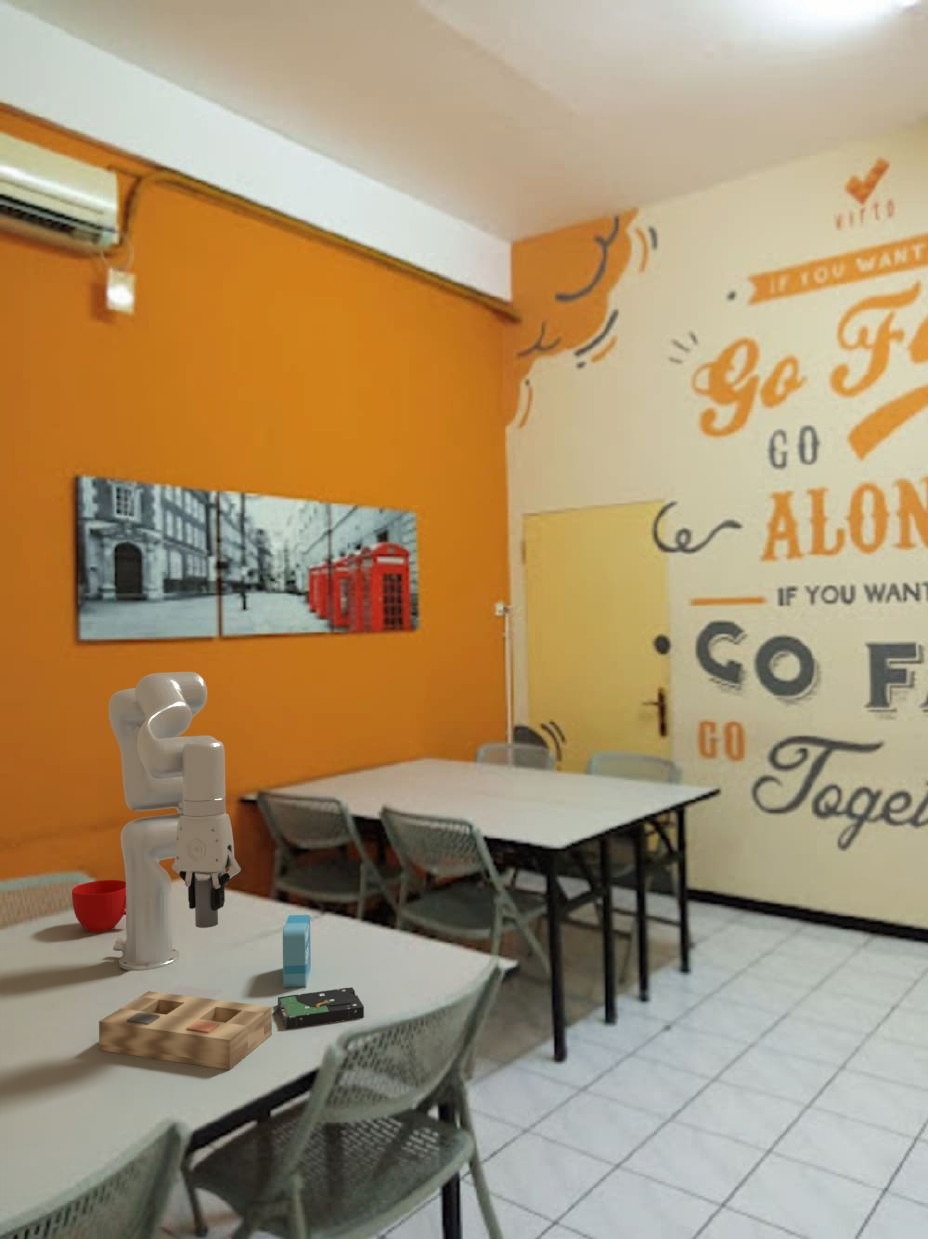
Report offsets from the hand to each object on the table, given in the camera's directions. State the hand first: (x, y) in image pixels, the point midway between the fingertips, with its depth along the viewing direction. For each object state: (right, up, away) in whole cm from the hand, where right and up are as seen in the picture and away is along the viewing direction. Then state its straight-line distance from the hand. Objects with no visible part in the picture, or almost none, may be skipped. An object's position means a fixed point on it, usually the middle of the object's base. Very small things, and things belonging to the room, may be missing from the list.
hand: (206, 906), depth 176 cm
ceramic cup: (-39, -23, +57) cm, 73 cm away
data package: (+13, -22, +23) cm, 34 cm away
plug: (0, -3, 0) cm, 3 cm away
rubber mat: (-7, -22, +12) cm, 27 cm away
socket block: (-2, -22, -6) cm, 23 cm away
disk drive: (+20, -23, +6) cm, 31 cm away
